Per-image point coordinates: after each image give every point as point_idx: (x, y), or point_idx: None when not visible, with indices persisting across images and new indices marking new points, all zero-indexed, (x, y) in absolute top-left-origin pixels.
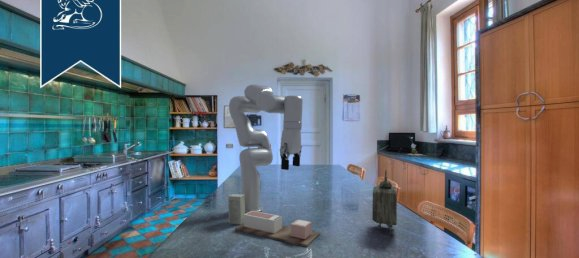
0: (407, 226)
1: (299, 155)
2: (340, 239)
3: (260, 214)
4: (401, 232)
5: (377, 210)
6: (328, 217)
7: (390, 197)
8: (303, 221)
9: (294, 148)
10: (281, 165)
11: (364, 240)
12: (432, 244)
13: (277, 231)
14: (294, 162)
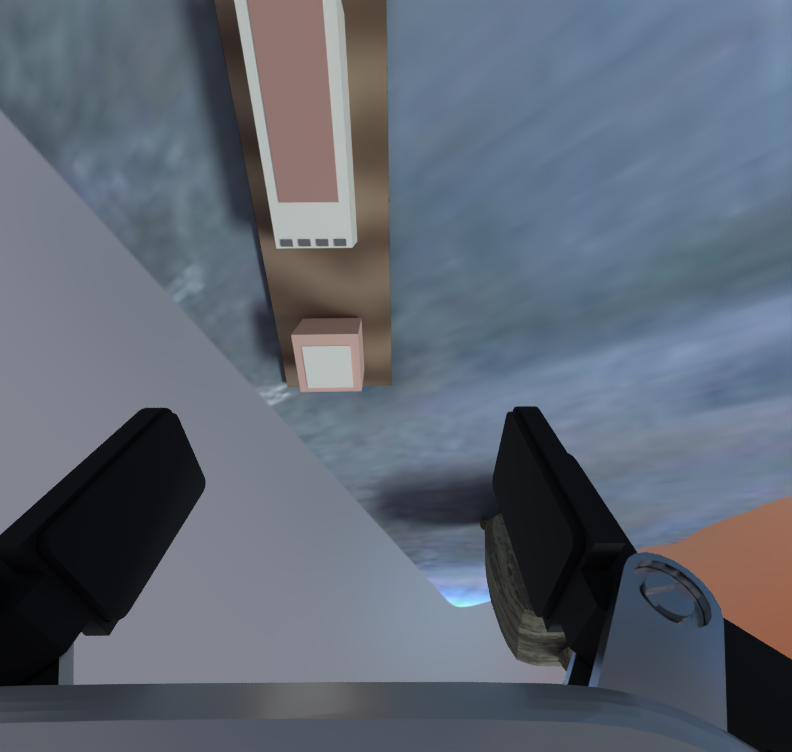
0: None
1: (582, 667)
2: (393, 437)
3: (300, 106)
4: None
5: (489, 561)
6: (581, 346)
7: (507, 634)
8: (344, 366)
9: None
10: (110, 442)
11: (419, 482)
12: (464, 573)
13: None
14: (519, 468)
